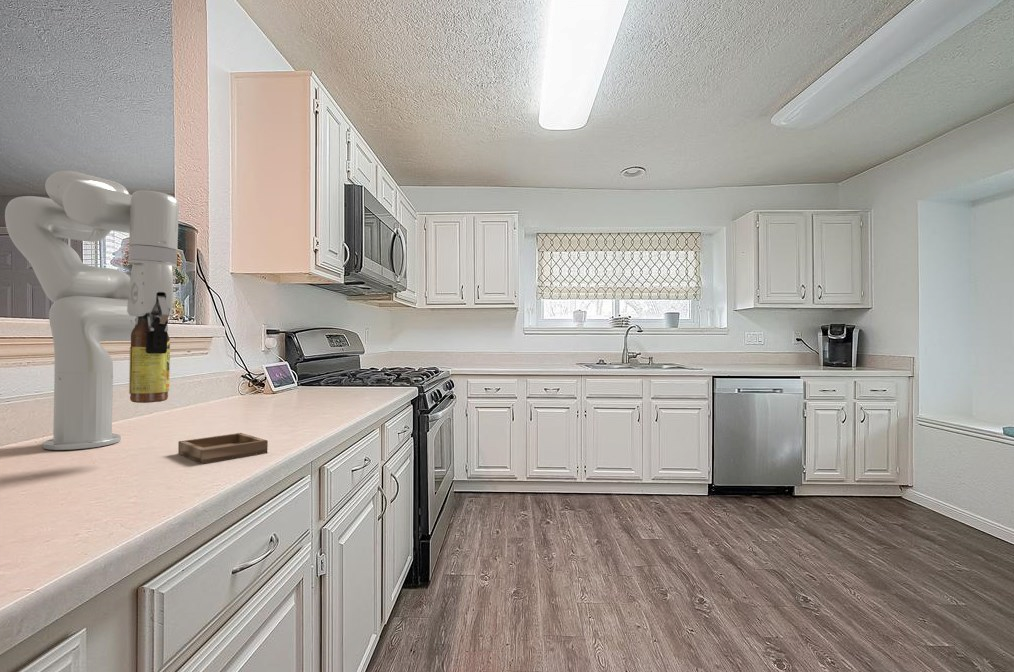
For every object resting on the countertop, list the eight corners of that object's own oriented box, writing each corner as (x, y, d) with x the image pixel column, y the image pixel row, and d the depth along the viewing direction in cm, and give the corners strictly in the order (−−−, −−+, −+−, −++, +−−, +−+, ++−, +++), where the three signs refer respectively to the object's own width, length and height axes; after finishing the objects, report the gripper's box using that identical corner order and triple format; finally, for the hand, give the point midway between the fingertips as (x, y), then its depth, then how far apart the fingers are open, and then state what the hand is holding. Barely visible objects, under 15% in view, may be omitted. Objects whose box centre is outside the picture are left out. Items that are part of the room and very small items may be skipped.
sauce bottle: (174, 401, 95) (178, 299, 95) (137, 405, 90) (141, 296, 90) (159, 397, 99) (163, 298, 98) (121, 400, 94) (125, 296, 93)
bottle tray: (178, 453, 98) (178, 441, 98) (240, 444, 108) (241, 432, 108) (202, 464, 91) (202, 450, 91) (267, 452, 100) (267, 440, 100)
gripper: (115, 258, 97) (112, 349, 97) (144, 252, 86) (141, 355, 86) (160, 263, 102) (157, 349, 103) (193, 258, 92) (189, 354, 92)
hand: (150, 351), depth 94 cm, fingers closed on sauce bottle, 6 cm apart
